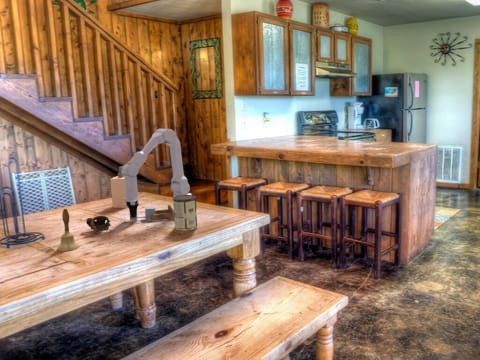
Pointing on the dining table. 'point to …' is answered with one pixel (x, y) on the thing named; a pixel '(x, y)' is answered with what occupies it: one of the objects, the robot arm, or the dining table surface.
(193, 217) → the coffee can
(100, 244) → the dining table surface
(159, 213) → the walnut lane
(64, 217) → the hand bell
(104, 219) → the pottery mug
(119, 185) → the soap dispenser
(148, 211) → the tethered block
